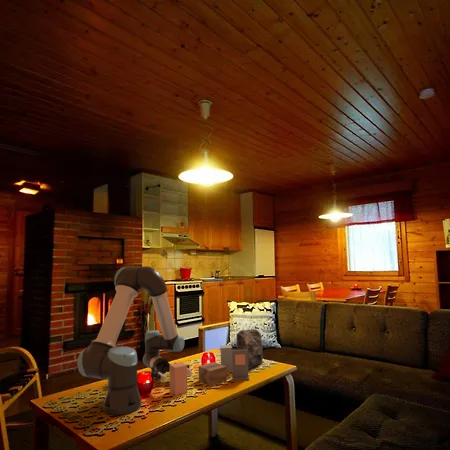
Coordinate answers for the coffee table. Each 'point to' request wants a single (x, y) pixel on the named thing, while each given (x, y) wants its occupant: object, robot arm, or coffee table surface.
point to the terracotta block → (178, 378)
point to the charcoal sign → (240, 365)
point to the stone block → (251, 345)
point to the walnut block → (212, 373)
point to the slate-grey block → (226, 356)
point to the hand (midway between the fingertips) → (178, 376)
